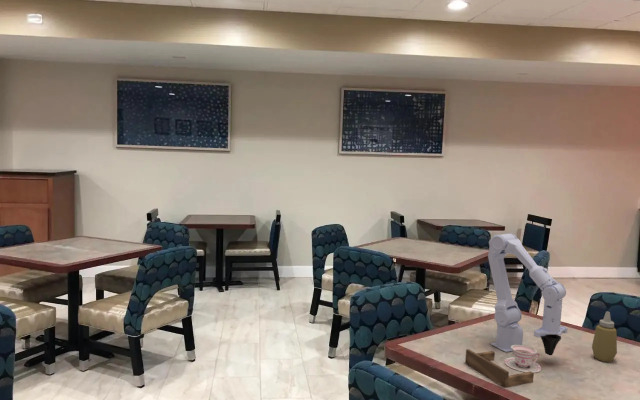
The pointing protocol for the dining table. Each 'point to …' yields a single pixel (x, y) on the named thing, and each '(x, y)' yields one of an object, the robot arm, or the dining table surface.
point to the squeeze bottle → (605, 340)
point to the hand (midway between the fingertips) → (548, 354)
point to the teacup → (523, 359)
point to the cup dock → (495, 369)
